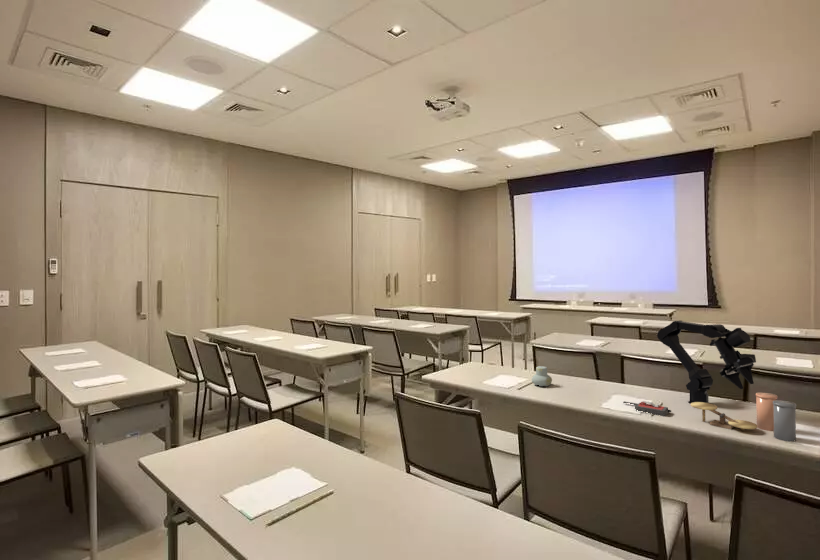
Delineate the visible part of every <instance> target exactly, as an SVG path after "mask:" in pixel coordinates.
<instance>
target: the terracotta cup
mask: <svg viewBox="0 0 820 560" xmlns="http://www.w3.org/2000/svg"><path fill="white" fill-rule="evenodd" d="M755 397H756V401H755V402H756V407H755V408H756V412H755V413H756V414H755V415H756V425H757V428H758V429H760V430H763V431H769V432H774V407H773V401H775V400H778V395H777V394H775V393H769V392H756V393H755ZM757 428H756V429H757Z"/></svg>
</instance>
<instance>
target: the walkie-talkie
mask: <svg viewBox="0 0 820 560" xmlns="http://www.w3.org/2000/svg"><path fill="white" fill-rule="evenodd" d="M622 402H623V404H624V403H630V404H634V405H633V406H634V410H635V409H636V410H638V411H643V412H648V413H652V414H651V415H653V414H654V415H655V416H659V415H660V416H659V417H666V416H667V415H668V414H669V413H672V410H671V409H669V407H667V406H661V405H660V404H659V403H657V404H655V403H653V402H651V401H645V400H642V401H641V402H639V403H636V402H629V401H622ZM636 410H635V411H636ZM654 415H653V416H654Z"/></svg>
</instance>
